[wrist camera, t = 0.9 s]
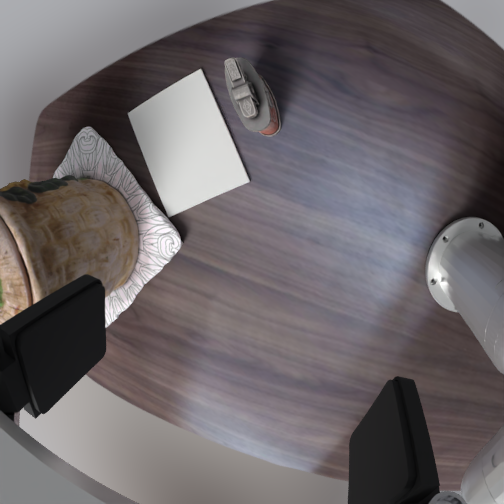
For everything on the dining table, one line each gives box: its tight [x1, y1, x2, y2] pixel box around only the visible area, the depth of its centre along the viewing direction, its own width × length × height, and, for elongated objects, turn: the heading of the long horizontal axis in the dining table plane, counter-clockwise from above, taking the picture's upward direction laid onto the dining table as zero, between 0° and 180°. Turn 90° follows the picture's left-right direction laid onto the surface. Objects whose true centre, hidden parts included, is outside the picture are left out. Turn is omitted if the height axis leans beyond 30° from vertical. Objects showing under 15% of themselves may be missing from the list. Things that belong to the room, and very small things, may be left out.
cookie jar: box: [0, 127, 183, 328], centre depth 30 cm, size 25×25×32 cm
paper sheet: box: [128, 69, 250, 217], centre depth 37 cm, size 12×16×1 cm
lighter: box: [225, 58, 281, 137], centre depth 29 cm, size 8×3×10 cm, turn 19°
